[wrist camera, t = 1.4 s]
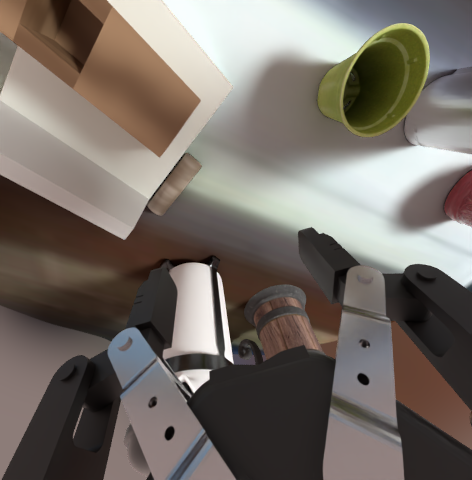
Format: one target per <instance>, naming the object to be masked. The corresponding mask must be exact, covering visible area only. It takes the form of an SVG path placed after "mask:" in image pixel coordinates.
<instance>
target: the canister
mask: <svg viewBox="0 0 472 480" xmlns="http://www.w3.org/2000/svg"><path fill="white" fill-rule="evenodd" d="M444 211H445V213H446V215H447V216H448V217H450V218H451V219H452V220H454V221H457V222H458V223H462V224H465V225H468V226H470V227H472V170H471V171H469V172H468V173H467V174H466V175H464V176H463V177H462V178H461V179H460V180H459V181H458V182H457V183H456V185H455V186H454V187H453V188H452V190H451V191H450V193H449V195H448V197H447V199H446V201H445V206H444Z"/></svg>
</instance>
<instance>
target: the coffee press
mask: <svg viewBox="0 0 472 480" xmlns="http://www.w3.org/2000/svg"><path fill="white" fill-rule="evenodd" d="M219 262H220V259H218V258H217V257H216V256H213V257H212V258H211V259H210V261H209V263H208V265H205V264H202V263H194V262H193V263H184V264H181V265H178V266H176V267H174V266H173V264H172V263H171V261H170V260H168V259H165V260H164V261H163V262H162V263H161V268H162V267H165V268H166V269H167V270H168V272H169V274H170V275H171V277H172V279H173V281H174V282H175V284H176V287H177V291H178V296H177V305H176V313H175V322H174V331H173V340H172V348H168V349H164V351H163V358H164V359H165V360H166V362H167V363H168V365H169V366H170V367H171V369H172V370H173V372H174V373H175V374H176V376H177V377H178V379H179V380H180V381H181V383H182V384H183V386H184V387H185V388H186V389H187V391H188V392H189V393H190V394H191V396H192V395H193V394H194V393H195V391H196V390H197V389H198V388H199V387H200V386H201V385H202V384H204V383H205V382H206V381H208V380H209V379H210V378H209V371H211V370H215V369H219V368H222V367H226V366H229V365H234V364H233V358H232V357H233V356H232V349H231V342H230V334H229V327H228V320H227V313H226V305H225V298H224V291H223V285H222V280H221V277H220V275H219V274H218V272H217V268H218V265H219ZM169 270H170V271H169ZM124 444H125V446H126V447H127V452H128V460H129V463H130V465H131V466H132V467H133V469H134V470H135V471H137V472H138V473H140V474H142V475H144V476H147V477H148V476H149V474H150V472H151V471H150V468H149V466H148V463H147V461H146V459H145V456H144V454H143V451H142V449H141V447H140V444H139V442H138V439H137V437H136V435H135V432H134V430H133V427H132V425H131V423H130V425H129V427H128V428H127V430H126V434H125V438H124Z"/></svg>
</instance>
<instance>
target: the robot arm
mask: <svg viewBox="0 0 472 480" xmlns="http://www.w3.org/2000/svg"><path fill="white" fill-rule="evenodd" d="M404 132H405V136H406V138H407V140H408V141H409V142H410V143H411V144H414V145H419V146H425V147H431V148H437V149H442V150H448V151H454V152H461V153H467V154H472V67H467V68H461V69H458V70H457V71H455V72H454V73H453V74H452V75H448V76H443V77H441V78H439V79H436V80H435V81H433V82H432V83H430V84H429V85H428V86H427V87H426V88H425V89H423V90H422V92H421V94H420V96H419V98H418V99H417V101H416V103H415V104H414V106H413V107H412V109H411V110H410V112H409V113H408V114H407V117H406V120H405V126H404ZM298 240H299V254H300V257H301V260H302V261H303V263H304V264H305V266H306V267H307V269H308V270H309V272H310V273H311V275H312V276H313V278H314V279H315V280H316V282H317V283H318V285H319V286H320V288H321V289H322V291H323V292H324V294H325V295H326V297H327V298H328V300H329V301H330V302H331V304H334V303H338V302H339V303H340V304H341V306H342V312H341V320H340V327H339V335H338V342H337V350H336V357H335V359H333V358H332V357H329V356H327V355H324V354H320V353H315V352H307V350H306V347H305V345H302V346H298V347H295V348H291V349H287V350H284V351H281V352H279V353H277V354H276V355H274V356H272V357H271V358H269V359H268V360H266V361H264V362H263V363H261V364H259V365H229V366H226V367H222V368H219V369H215V370H211V371H209V378H210V379H209V380H208V381H206V382H205V383H204V384H202V385H201V386H200V387H199V388H198V389H197V390H196V391H195V393H194V394H193V395H192V396H191V394H190V393H189V392H188V391H187V389H186V388H185V387H184V386H183V384H182V383H181V381H180V380H179V379H178V377H177V376H176V374H175V373H174V372H173V370H172V369H171V367H170V366H169V365H168V363H167V362H166V360H165V359H164V358H163V351H164V349H168V348H172V340H173V331H174V322H175V313H176V305H177V296H178V291H177V287H176V284H175V282H174V281H173V279H172V277H171V275H170V274H169V272H168V270H167V269H166V268H165V267H162V268H158V269H154V270H151V272H150V275H149V278H148V280H147V281H144V282H143V284H142V285H141V286H140V288H139V289H138V292H137V295H136V298H135V301H134V305H133V307H132V310H131V313H130V316H129V319H128V322H127V325H126V328H125V330H123V331H122V332H120V333H119V334H118V335H117V336H116V337H115V338H114V339H113V340H112V341H111V343H110V345H109V347H108V349H107V350H105V351H103V352H102V353H100V354H98V355H97V356H95V357H93V358H91V359H88V358H87V357H85V356H83V355H80V356H76V357H73V358H72V359H70V360H68V361H67V362H66V363H64V364H63V365H62V366H61V367H60V368H59V369H58V370H57V372H56V373H55V374H54V376H53V378H52V380H51V382H50V384H49V386H48V388H47V390H46V392H45V394H44V396H43V398H42V400H41V402H40V404H39V406H38V408H37V410H36V412H35V414H34V416H33V418H32V420H31V422H30V424H29V426H28V428H27V430H26V432H25V434H24V436H23V438H22V440H21V442H20V444H19V446H18V448H17V450H16V452H15V454H14V456H13V458H12V460H11V462H10V464H9V466H8V468H7V470H6V472H5V474H4V476H3V478H2V480H103V479H104V474H105V469H106V465H107V460H108V456H109V451H110V447H111V442H112V437H113V433H114V429H115V424H116V419H117V415H118V411H119V406H120V402H121V401H122V403H123V406H124V408H125V410H126V413H127V415H128V418H129V420H130V423H131V425H132V427H133V430H134V432H135V435H136V437H137V439H138V442H139V444H140V447H141V449H142V451H143V454H144V456H145V459H146V461H147V463H148V466H149V468H150V471H151V472H150V474H149V476H148V478H147V479H146V480H472V450H471V449H469V448H468V447H466V446H465V445H463V444H462V443H460V442H459V441H457V440H456V439H454V438H453V437H451V436H450V435H448V434H447V433H445V432H444V431H442V430H441V429H439V428H438V427H436V426H435V425H433V424H432V423H430V422H429V421H427V420H426V419H424V418H423V417H422V416H420V415H419V414H417V413H415V412H414V411H413V410H411V409H410V408H408V407H406V406H405V405H404V404H402V403H401V402H399V401H397V400H396V399H395V384H394V369H393V368H394V367H393V351H392V336H391V322H390V321H396V322H397V323H398V325H399V326H400V327H401V328H402V329H403V330H404V332H405V333H406V334H407V335H408V336H409V338H410V339H411V340H412V341H413V342H414V344H415V345H416V346H417V347H418V348H419V349H420V351H421V352H422V353H423V354H424V355H425V357H426V358H427V359H428V360H429V361H430V362H431V364H432V365H433V366H434V367H435V368H436V370H437V371H438V372H439V373H440V374H441V375H442V377H443V378H444V379H445V380H446V381H447V383H448V384H449V385H450V386H451V387H452V388H453V389H454V391H455V392H456V393H457V394H458V395H459V397H460V398H461V399H462V400H463V401H464V403H465V404H466V405H467V406H468V407H469V409H470V410H471V413H470V423H471V425H472V293H471V292H470V291H469V290H467V289H466V288H465V287H463V286H462V285H460V284H459V283H458V282H456V281H455V280H454V279H452V278H451V277H449V276H448V275H447V274H445V273H444V272H442V271H441V270H439V269H437V268H435V267H432V266H428V265H423V264H414V265H410V266H408V267H407V268H406V269H405V271H404V273H403V274H381V273H380V272H379V271H378V270H376V269H374V268H372V267H369V266H363V265H360V264H359V263H358V262H357V261H356V260H355V259H354V258H353V257H352V256H351V255H350V254H349V253H348V252H347V251H346V250H345V249H344V248H342V246H341V245H340V244H338V243H337V242H336V241H335V240H334V239H333V238H332V237H331V236H329V235H326V234H324V233H322V234H319V233H318V232H317V231H316V230H315V229H314V228H312V227H311V228H307V229H303V230H300V231H299V232H298ZM82 407H83V408H84V410H83V412H82V415H81V419H80V421H79V424H78V427H77V430H76V433H75V436H74V439H73V432H74V429H75V426H76V423H77V421H78V418H79V415H80V412H81V409H82Z"/></svg>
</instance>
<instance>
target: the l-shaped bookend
mask: <svg viewBox="0 0 472 480" xmlns="http://www.w3.org/2000/svg"><path fill="white" fill-rule="evenodd" d="M107 1H108V2H109V3H110V4H111V5H112V6H113V7H114V8H115V9H116V10H117V12H118V13H119V14H120V15H121V16H122V17H123V18H124V19H125V20H126V21H127V22H128V23H129V24H130V25H131V26H132V27H133V29H134V30H135V31H136V32H137V33H138V34H139V35H140V36H141V37H142V38H143V39H144V40H145V41H146V42H147V43H148V44H149V45H150V47H151V48H152V49H153V50H154V51H155V52H156V53H157V54H158V55H159V56H160V57H161V58H162V59H163V60H164V61H165V62H166V64H167V65H168V66H169V67H170V68H171V69H172V70H173V71H174V72H175V73H176V74H177V75H178V76H179V77H180V78H181V79H182V80H183V82H184V83H185V84H186V85H187V86H188V87H189V88H190V89H191V90H192V91H193V92H194V93H195V94H196V95H197V96H198V97H199V99H200V100H201V102H200V103H199V105H198V106H197V108H196V109H195V110H194V112H193V113H192V115H191V116H190V117H189V119H188V120H187V122H186V123H185V124H184V126H183V127H182V129H181V130H180V131H179V133H178V134H177V136H176V137H175V138H174V140H173V141H172V143H171V144H170V145H169V147H168V148H167V149H166V151H165V152H164V153H163V154H162V156H161V157H160V158H159V157H158V156H157V155H156V154H154V153H153V152H152V151H151V150H149V149H148V148H147V147H145V146H144V145H143V144H142V143H140V142H139V141H138V140H137V139H135V138H134V137H133V136H132V135H130V134H129V133H128V132H127V131H125V130H124V129H123V128H121V127H120V126H119V125H118V124H116V123H115V122H114V121H113V120H111V119H110V118H109V117H108V116H106V115H105V114H104V113H103V112H101V111H100V110H99V109H97V108H96V107H95V106H94V105H92V104H91V103H90V102H89V101H87V100H86V99H85V98H84V97H82V96H81V95H80V94H79V93H77V92H76V91H75V90H73V89H72V88H71V87H70V86H68V85H67V84H66V83H65V82H63V81H62V80H61V79H60V78H58V77H57V76H56V75H55V74H53V73H52V72H51V71H49V70H48V69H47V68H46V67H44V66H43V65H42V64H41V63H39V62H38V61H37V60H36V59H34V58H33V57H32V56H31V55H29V54H28V53H27V52H25V51H24V50H23V49H22V48H20V47H19V46H17V49H16V52H15V55H14V58H13V61H12V63H11V66H10V69H9V72H8V75H7V77H6V80H5V83H4V86H3V89H2V91H1V94H0V175H2V176H4V177H6V178H8V179H10V180H12V181H14V182H15V183H17V184H19V185H21V186H23V187H25V188H27V189H29V190H31V191H33V192H34V193H36V194H38V195H40V196H42V197H44V198H46V199H48V200H50V201H52V202H53V203H55V204H57V205H59V206H61V207H63V208H65V209H67V210H69V211H71V212H73V213H74V214H76V215H78V216H80V217H82V218H84V219H86V220H88V221H90V222H92V223H93V224H95V225H97V226H99V227H101V228H103V229H105V230H107V231H109V232H111V233H113V234H114V235H116V236H118V237H120V238H122V239H124V240H125V239H126V238H127V236H128V235H129V234H130V232H131V231H132V230H133V228H134V227H135V225H136V223H137V221H138V219H139V217H140V216H141V214H142V212H143V210H144V208H145V206H146V205H147V203H148V201H149V199H150V198H151V196H152V195H153V194H154V192H155V191H156V190H157V188H158V187H159V186H160V184H161V183H162V182H163V180H164V179H165V178H166V176H167V175H168V174H169V173H170V171H171V170H172V169H173V167H174V166H175V165H176V163H177V162H178V161H179V159H180V158H181V157H182V155H183V154H184V153H185V151H186V150H187V149H188V147H189V146H190V145H191V143H192V142H193V141H194V139H195V138H196V137H197V135H198V134H199V133H200V131H201V130H202V129H203V127H204V126H205V125H206V123H207V122H208V121H209V119H210V118H211V117H212V115H213V114H214V113H215V111H216V110H217V109H218V107H219V106H220V105H221V103H222V102H223V101H224V99H225V98H226V97H227V95H228V94H229V93H230V92H231V90H232V89H233V88H234V87H233V86H232V85H231V83H230V82H229V81H228V80H227V79H226V77H225V76H224V75H223V74H222V73H221V71H220V70H219V69H218V68H217V66H216V65H215V64H214V63H213V62H212V60H211V59H210V58H209V57H208V55H207V54H206V53H205V52H204V51H203V49H202V48H201V47H200V46H199V45H198V43H197V42H196V41H195V40H194V38H193V37H192V36H191V35H190V34H189V32H188V31H187V30H186V29H185V28H184V26H183V25H182V24H181V23H180V21H179V20H178V19H177V18H176V17H175V15H174V14H173V13H172V12H171V10H170V9H169V8H168V7H167V6H166V4H165V3H164V2H163V1H162V0H107Z"/></svg>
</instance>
